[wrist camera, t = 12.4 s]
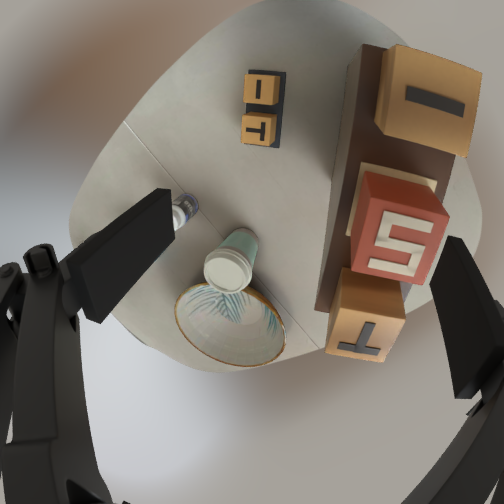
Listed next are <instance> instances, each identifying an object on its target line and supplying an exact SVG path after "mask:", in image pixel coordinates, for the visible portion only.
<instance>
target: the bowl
mask: <svg viewBox="0 0 504 504" xmlns="http://www.w3.org/2000/svg"><path fill="white" fill-rule="evenodd" d="M175 318H176V322H177V325H178V327H179V329H180V331H181V332H182V334H183V335H184V337H185V338H186V339H187V340H188V341H189V342H190V343H191V344H192V345H193V346H194V347H195V348H197V349H198V350H199V351H201V352H202V353H204V354H205V355H207V356H209V357H211V358H213V359H215V360H217V361H220V362H222V363H225V364H229V365H234V366H241V367H255V366H261V365H265V364H267V363H270V362H272V361H273V360H275V359H276V358H278V356H279V355H280V354H281V353H282V352H283V350H284V347H285V345H286V332H285V328H284V325H283V323H282V320H281V318H280V316H279V314H278V312H277V310H276V309H275V308H274V306H273V305H272V304H271V303H270V301H269V300H267V299H266V298H265V297H264V296H263V295H262V294H261V293H259V292H258V291H256V290H255V289H253V288H251V287H249V286H246V287H245V288H244V289H242V290H241V291H239V292H237V293H234V294H226V293H222V292H219V291H217V290H215V289H214V288H213V287H211V286H210V285H209V283H208V282H203V283H200V284H197V285H195V286H192V287H190V288H188V289H186V290H185V291H184V292H183V293H181V295H180V296H179V297H178V299H177V301H176V304H175Z"/></svg>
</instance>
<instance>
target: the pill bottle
mask: <svg viewBox="0 0 504 504" xmlns="http://www.w3.org/2000/svg"><path fill="white" fill-rule="evenodd" d="M197 210H198V203H197V201H196V199H195V198H194V197H193V196H192V195H190V194H182V195H180V196H179V197H178V198H177V199H175V200H174V201H173V202H172V211H173V222H174V231H176V230H177V229H178V228H181V227H182V226H184V224H185V223H186V222H187V221H188V220H189V219H190V218H191V217H192V216H193V215H194V214H195V213H196V212H197Z"/></svg>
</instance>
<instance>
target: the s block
mask: <svg viewBox="0 0 504 504" xmlns="http://www.w3.org/2000/svg"><path fill="white" fill-rule="evenodd" d="M449 218H450V216H449V215H448V213H447V211H446V210H445V208H444V207H443V205H442V204H441V202H440V201H439V199H438V198H437V196H436V195H435V194H434V192H433V191H432V189H431V188H430V187H429V186H425V185H421V184H418V183H414V182H410V181H406V180H402V179H398V178H394V177H390V176H386V175H382V174H377V173H373V172H369V171H365V172H364V176H363V181H362V186H361V190H360V195H359V199H358V204H357V208H356V212H355V217H354V221H353V225H352V229H351V271H354V272H359V273H364V274H369V275H374V276H379V277H383V278H388V279H393V280H398V281H403V282H408V283H412V284H417V285H423V283H424V281H425V279H426V277H427V274H428V272H429V270H430V267H431V265H432V263H433V260H434V258H435V255H436V253H437V250H438V248H439V245H440V243H441V240H442V237H443V235H444V232H445V229H446V226H447V224H448V221H449Z"/></svg>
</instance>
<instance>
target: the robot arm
mask: <svg viewBox="0 0 504 504" xmlns="http://www.w3.org/2000/svg"><path fill="white" fill-rule="evenodd" d="M174 239H175V233H174V222H173V211H172V199H171V189H161V188H157V189H155V190H154V191H153V192H151V193H150V194H149V195H147V196H146V197H144V198H143V199H142V200H140V201H139V202H138V203H136V204H135V205H134V206H132V207H131V208H130V209H128V210H127V211H126V212H124V213H123V214H122V215H120V216H119V217H118V218H117V219H115V220H114V221H113V222H111V223H110V224H109V225H108V226H106V227H105V228H104V229H103V230H101V231H99V232H97V233H95V234H93V235H91V236H90V237H89V238H87V239H86V240H85V241H84V243H81V244H80V245H79V246H78V248H75V249H74V250H73V251H72V252H71V253H70V254H68V255H67V256H66V257H65V258H64V259H62V260H61V261H60V262H59V263H58V261H57V258H56V254H55V252H54V248H53V246H52V245H51V244H40V245H37V246H34V247H33V248H31V249H29V250H28V251H27V252H26V253H25V254H24V256H23V259H24V261H25V264H26V267H27V269H28V272H29V273H22V271H21V268H20V266H19V264H18V263H15V262H12V263H7V264H5V265H2V267H0V478H1V471H2V476H3V486H4V494H5V501H6V504H114V503H113V502H112V498H111V495H110V493H109V490H108V488H107V486H106V484H105V482H104V480H103V479H102V477H101V475H100V473H99V470H98V466H97V461H96V457H95V452H94V447H93V443H92V437H91V432H90V426H89V420H88V413H87V406H86V399H85V391H84V382H83V373H82V362H81V348H80V347H81V346H80V326H79V317H78V315H77V312H78V311H79V310H80V309H81V308H82V309H83V311H84V314H85V316H86V318H87V319H89V320H91V321H94V322H96V323H99V324H101V323H102V322H103V320H104V319H105V318H106V317H107V316H108V315H109V313H110V312H111V311H112V310H113V309H114V307H115V306H116V305H117V304H118V303H119V301H120V300H121V299H122V298H123V297H124V296H125V294H126V293H127V292H128V291H129V290H130V289H131V287H132V286H133V285H134V284H135V283H136V282H137V281H138V279H139V278H140V277H141V276H142V275H143V274H144V273H145V271H146V270H147V269H148V268H149V267H150V266H151V265H152V264H153V262H154V261H155V260H156V259H157V258H158V257H159V256H160V255H161V254H162V252H163V251H164V250H165V249H166V248H167V247H168V246H169V245H170V244H171V243H172V242H173V240H174ZM429 285H430V288H431V292H432V295H433V299H434V302H435V306H436V309H437V313H438V317H439V321H440V325H441V329H442V333H443V338H444V342H445V347H446V351H447V357H448V361H449V367H450V371H451V378H452V383H453V390H454V396H455V399H472V397H473V396H474V395H475V394H476V393H477V392H478V391H479V390H481V394H482V398H481V399H480V400H479V402H477V403H476V405H475V406H474V407H473V408H472V409H471V410H470V411H469V412H468V413H467V414H466V415H469V417H468V418H467V420H466V421H465V423H464V425H463V426H462V428H461V429H460V431H459V432H458V434H457V435H456V437H455V438H454V439H453V441H452V442H451V444H450V445H449V447H448V448H447V449H446V451H445V452H444V453H443V454H442V456H441V458H439V460H438V461H437V462H436V464H435V465H434V466H433V467H432V469H431V470H430V471H429V472H428V474H427V475H426V476H425V477H424V479H423V480H422V481H421V482H420V483H419V484H418V485H417V486H416V488H415V489H414V490H413V491H412V492H411V493H410V494H409V496H408V497H407V498H406V499H405V500H404V501H403V502H402V503H401V504H484V503H485V501H486V500H487V498H488V497H489V495H490V493H491V491H492V490H493V488H494V486H495V485H496V483H497V481H498V479H499V481H498V483H497V487H496V489H495V492H494V495H493V498H492V500H491V503H490V504H504V308H503V307H502V305H501V304H500V303H499V302H498V301H497V300H494V299H493V297H492V295H491V293H490V291H489V289H488V287H487V285H486V283H485V281H484V279H483V277H482V275H481V273H480V271H479V269H478V267H477V265H476V263H475V261H474V259H473V258H472V256H471V254H470V252H469V250H468V249H467V247H466V245H465V243H464V242H463V240H462V238H458V237H453V236H449V235H448V237H447V240H446V242H445V245H444V248H443V251H442V253H441V256H440V259H439V261H438V264H437V266H436V269H435V272H434V274H433V276H432V279H431V281H430V284H429ZM8 309H9V311H10V313H11V314H12V317H11V319H10V320H9V319H8V317H7V315H6V314H7V310H8ZM12 411H13V413H12ZM11 415H12V420H13V423H12V424H13V438H12V441H11V443H7V444H6V440H7V435H8V429H9V424H10V420H11ZM122 504H130V503H128V502H125V501H123V503H122Z"/></svg>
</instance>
